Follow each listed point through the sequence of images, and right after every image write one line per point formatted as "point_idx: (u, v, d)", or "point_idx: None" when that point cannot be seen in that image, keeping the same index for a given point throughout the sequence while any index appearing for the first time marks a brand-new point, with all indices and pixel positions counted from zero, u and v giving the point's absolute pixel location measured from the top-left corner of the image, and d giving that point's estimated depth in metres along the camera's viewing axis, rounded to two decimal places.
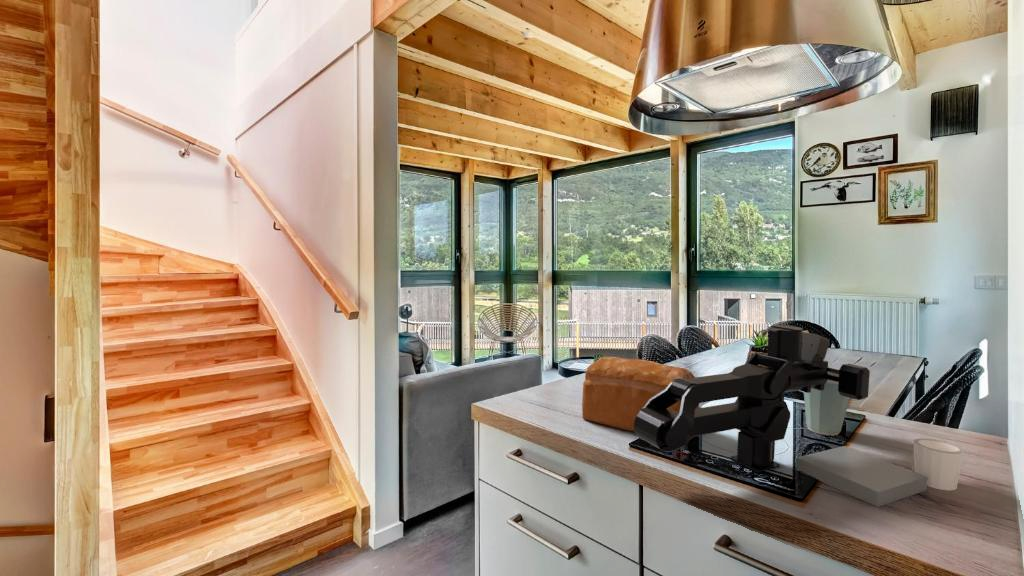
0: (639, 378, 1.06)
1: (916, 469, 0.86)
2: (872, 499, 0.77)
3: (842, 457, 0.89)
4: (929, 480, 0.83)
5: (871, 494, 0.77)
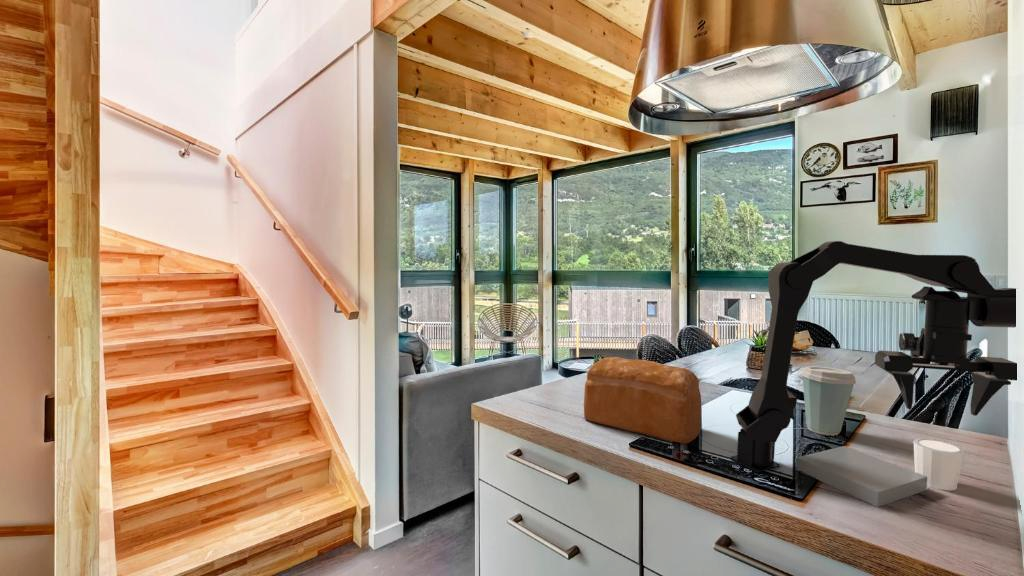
0: (641, 378, 1.06)
1: (916, 469, 0.86)
2: (872, 499, 0.77)
3: (842, 457, 0.89)
4: (929, 480, 0.83)
5: (871, 494, 0.77)
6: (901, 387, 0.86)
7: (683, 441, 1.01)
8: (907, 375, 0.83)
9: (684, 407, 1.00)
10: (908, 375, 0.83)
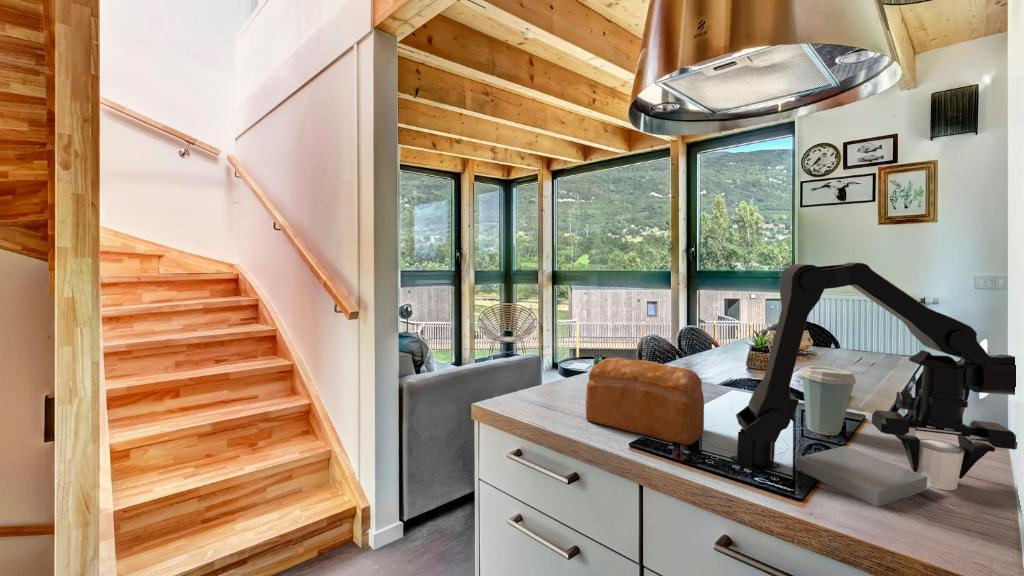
0: (643, 379, 1.05)
1: None
2: (872, 499, 0.77)
3: (842, 457, 0.89)
4: (929, 480, 0.83)
5: (871, 494, 0.77)
6: (907, 449, 0.86)
7: (686, 442, 1.00)
8: (913, 439, 0.83)
9: (687, 408, 0.99)
10: (914, 440, 0.83)
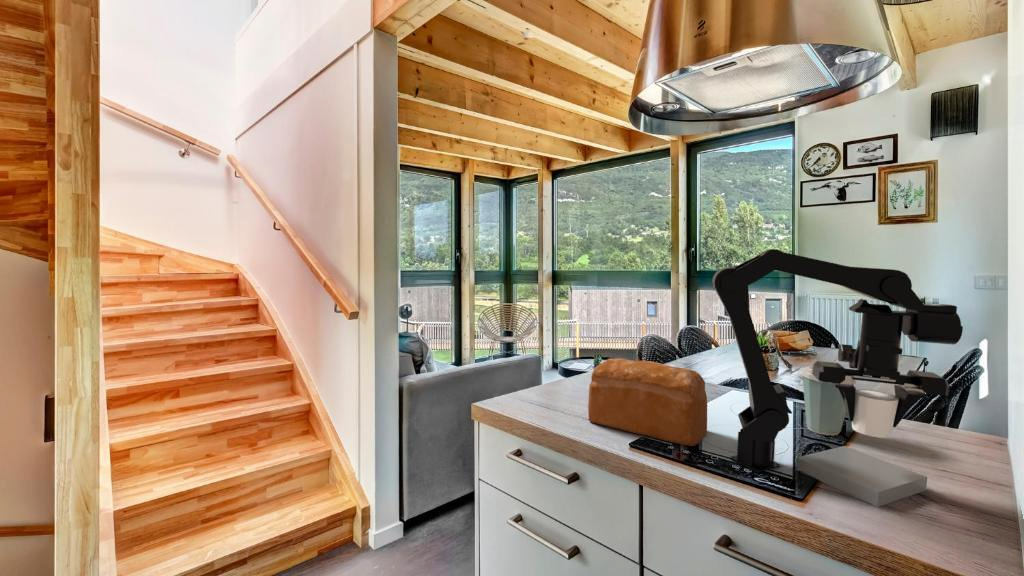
0: (646, 380, 1.04)
1: (853, 418, 0.86)
2: (872, 499, 0.77)
3: (842, 457, 0.89)
4: (864, 428, 0.83)
5: (871, 494, 0.77)
6: (844, 399, 0.86)
7: (689, 443, 0.99)
8: (849, 387, 0.83)
9: (691, 409, 0.99)
10: (850, 387, 0.83)
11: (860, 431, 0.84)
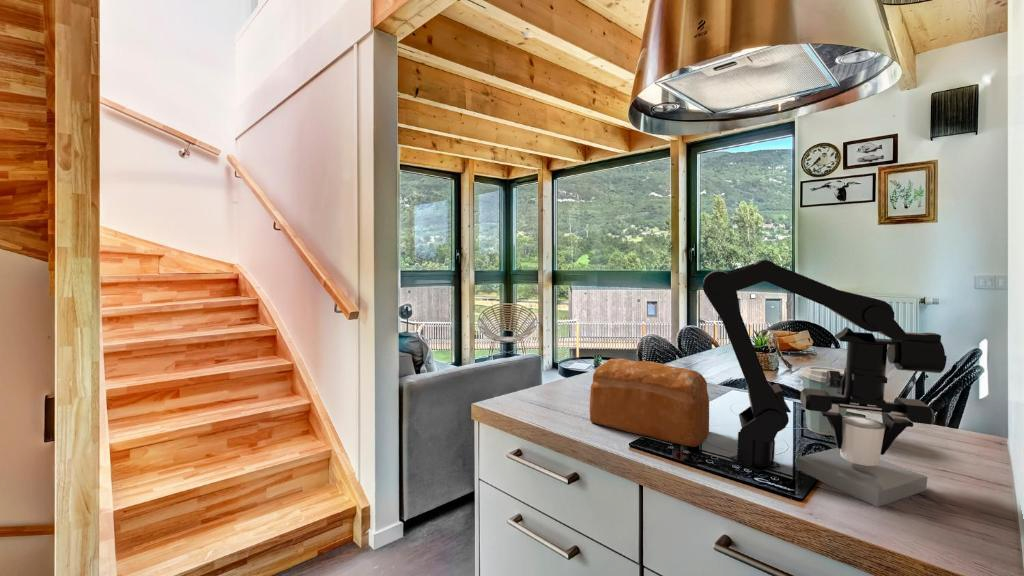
0: (648, 380, 1.04)
1: (841, 446, 0.86)
2: (872, 499, 0.77)
3: None
4: (852, 456, 0.84)
5: (871, 494, 0.77)
6: (832, 426, 0.87)
7: (691, 444, 0.99)
8: (836, 416, 0.84)
9: (693, 409, 0.98)
10: (837, 416, 0.84)
11: (848, 459, 0.84)
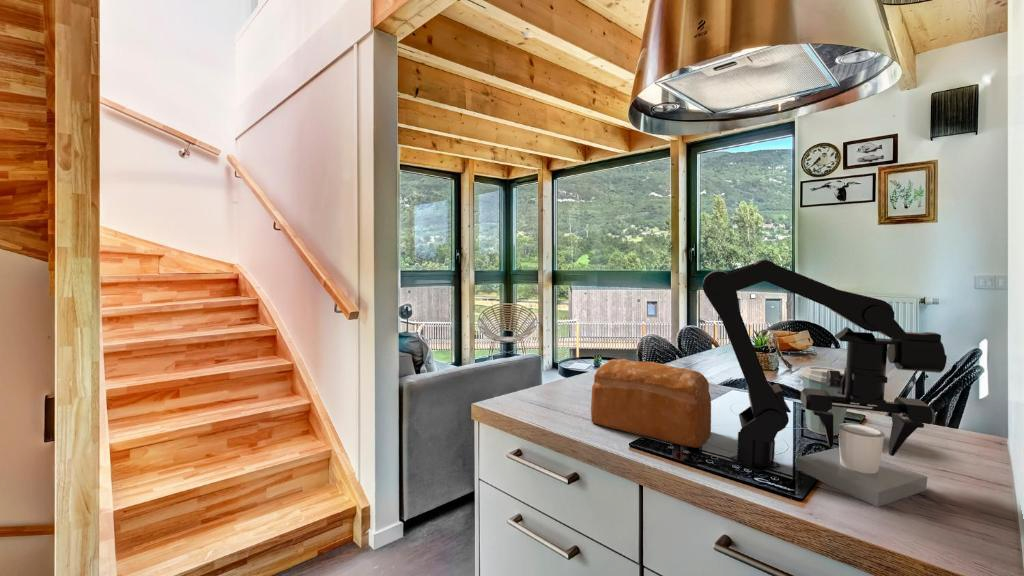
0: (650, 381, 1.03)
1: (840, 453, 0.86)
2: (872, 499, 0.77)
3: None
4: (852, 464, 0.84)
5: (871, 494, 0.77)
6: (823, 425, 0.87)
7: (694, 445, 0.98)
8: (827, 415, 0.84)
9: (695, 410, 0.98)
10: (828, 415, 0.84)
11: (848, 467, 0.84)
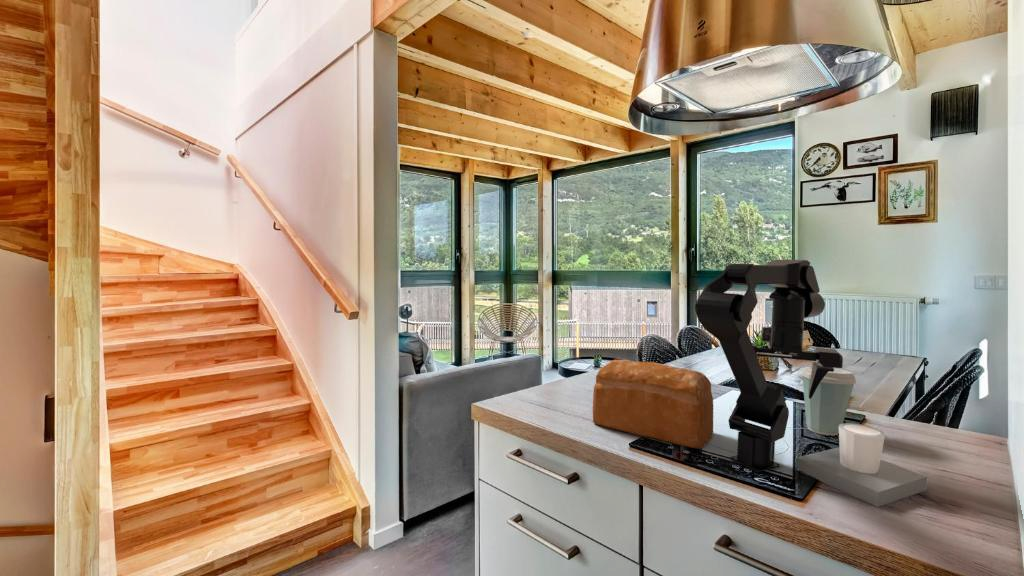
0: (652, 381, 1.03)
1: (841, 453, 0.86)
2: (872, 499, 0.77)
3: None
4: (852, 464, 0.84)
5: (871, 494, 0.77)
6: None
7: (696, 446, 0.98)
8: None
9: (697, 411, 0.97)
10: None
11: (848, 467, 0.84)
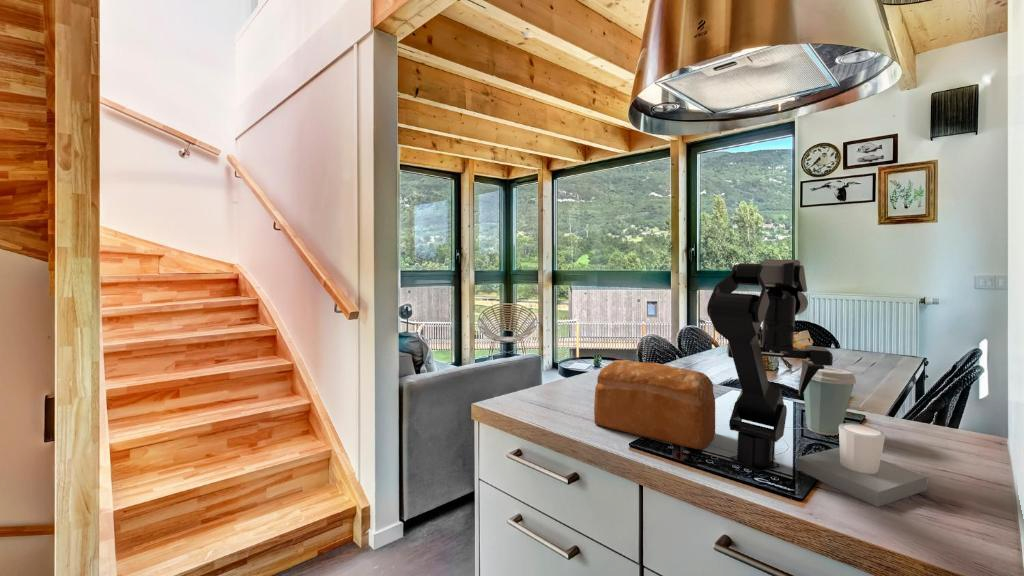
0: (654, 382, 1.03)
1: (841, 453, 0.86)
2: (872, 499, 0.77)
3: None
4: (852, 464, 0.84)
5: (871, 494, 0.77)
6: None
7: (698, 447, 0.98)
8: None
9: (700, 411, 0.97)
10: None
11: (848, 467, 0.84)
